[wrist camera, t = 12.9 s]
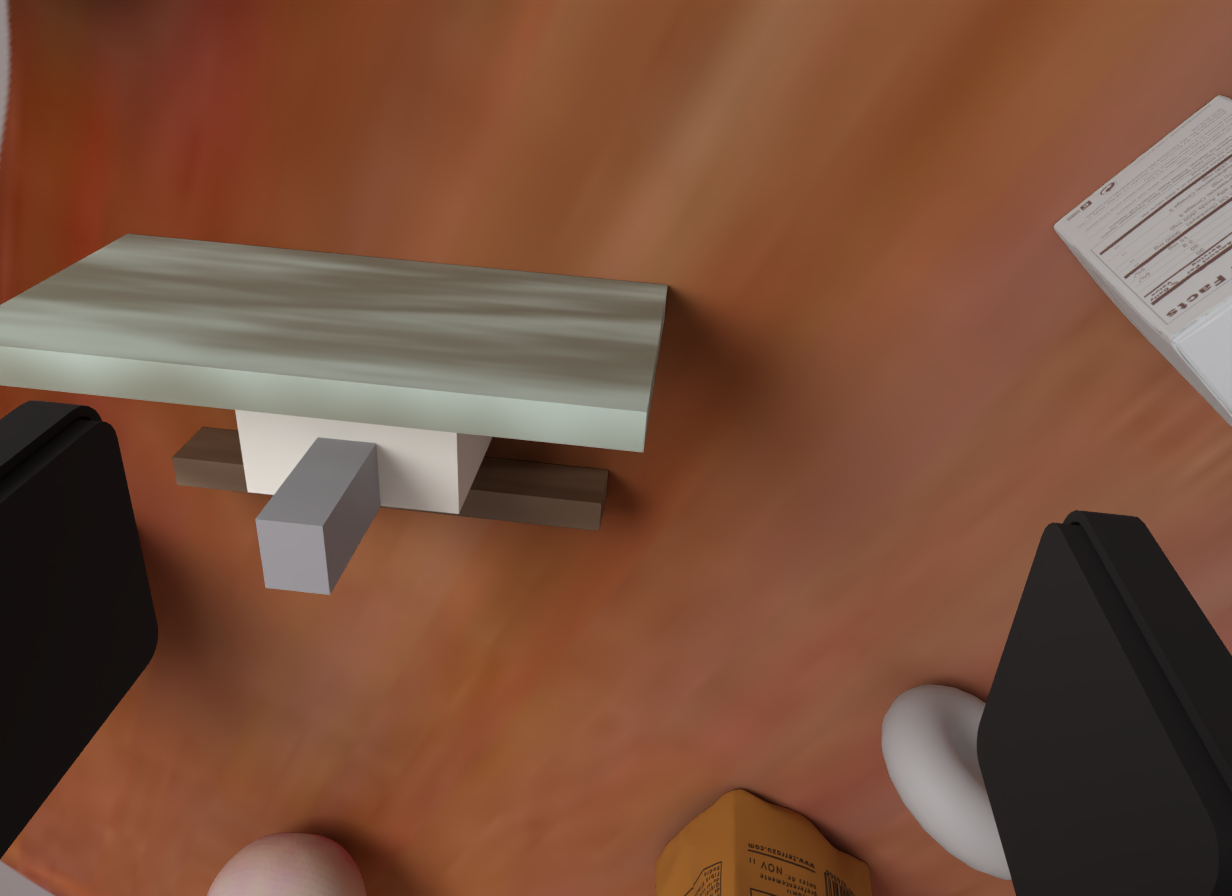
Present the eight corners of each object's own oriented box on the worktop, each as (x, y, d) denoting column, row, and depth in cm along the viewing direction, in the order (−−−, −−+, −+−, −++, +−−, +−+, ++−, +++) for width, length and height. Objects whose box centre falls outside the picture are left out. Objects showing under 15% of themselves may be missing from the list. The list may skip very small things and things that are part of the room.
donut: (855, 681, 52) (880, 839, 43) (896, 639, 50) (930, 794, 42) (1006, 762, 54) (1060, 929, 45) (1051, 723, 52) (1115, 890, 43)
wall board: (127, 233, 44) (-62, 339, 33) (667, 285, 42) (646, 412, 32) (167, 449, 49) (16, 598, 39) (647, 501, 48) (624, 669, 37)
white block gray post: (296, 297, 44) (148, 434, 33) (493, 315, 44) (411, 461, 33) (309, 415, 47) (178, 578, 36) (494, 433, 47) (419, 604, 36)
